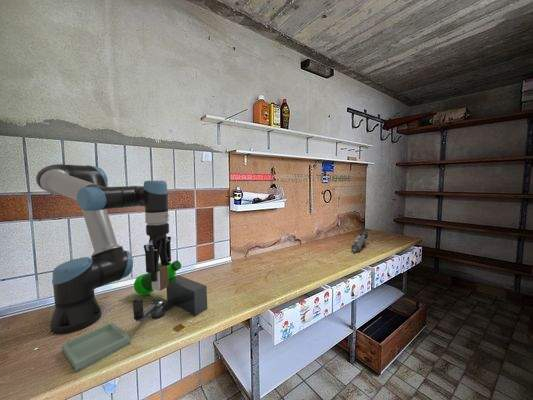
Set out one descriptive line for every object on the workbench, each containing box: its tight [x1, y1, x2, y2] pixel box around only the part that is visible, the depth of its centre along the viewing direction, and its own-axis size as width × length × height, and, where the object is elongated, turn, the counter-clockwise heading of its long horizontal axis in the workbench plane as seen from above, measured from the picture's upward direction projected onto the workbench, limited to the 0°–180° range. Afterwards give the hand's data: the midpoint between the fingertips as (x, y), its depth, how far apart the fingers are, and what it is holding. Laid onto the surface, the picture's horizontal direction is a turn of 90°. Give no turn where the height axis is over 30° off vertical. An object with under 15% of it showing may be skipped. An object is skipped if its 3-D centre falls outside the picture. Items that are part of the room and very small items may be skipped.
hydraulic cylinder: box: [350, 231, 370, 253], centre depth 178 cm, size 7×37×10 cm, turn 145°
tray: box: [61, 321, 131, 373], centre depth 73 cm, size 14×14×2 cm
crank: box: [132, 297, 165, 322], centre depth 86 cm, size 15×5×7 cm, turn 174°
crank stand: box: [150, 275, 208, 332], centre depth 93 cm, size 23×16×10 cm
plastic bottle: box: [133, 260, 182, 296], centre depth 107 cm, size 10×10×25 cm
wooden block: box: [158, 265, 168, 291], centre depth 84 cm, size 4×4×8 cm
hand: (160, 285), depth 85 cm, fingers closed on wooden block, 5 cm apart
